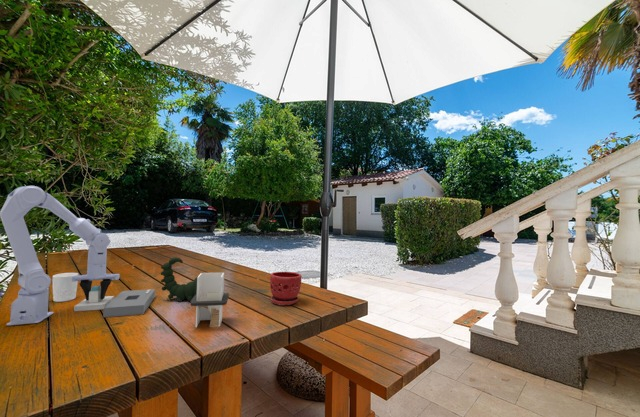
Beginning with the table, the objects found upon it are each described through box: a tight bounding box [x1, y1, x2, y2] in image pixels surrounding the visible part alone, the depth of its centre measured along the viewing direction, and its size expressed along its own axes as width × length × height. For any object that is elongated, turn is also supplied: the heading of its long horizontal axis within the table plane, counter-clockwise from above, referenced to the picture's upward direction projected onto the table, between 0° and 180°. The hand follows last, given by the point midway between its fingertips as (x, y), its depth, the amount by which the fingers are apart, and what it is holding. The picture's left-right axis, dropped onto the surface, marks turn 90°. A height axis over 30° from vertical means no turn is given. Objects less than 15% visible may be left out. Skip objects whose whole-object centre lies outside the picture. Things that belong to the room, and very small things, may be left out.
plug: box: [89, 284, 101, 303], centre depth 109 cm, size 4×3×7 cm, turn 21°
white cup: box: [52, 272, 79, 303], centre depth 115 cm, size 8×8×10 cm
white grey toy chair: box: [189, 272, 230, 328], centre depth 95 cm, size 25×24×16 cm
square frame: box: [73, 295, 115, 312], centre depth 109 cm, size 11×9×2 cm
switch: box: [102, 288, 156, 318], centre depth 110 cm, size 22×12×4 cm, turn 21°
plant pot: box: [269, 271, 302, 306], centre depth 120 cm, size 13×13×12 cm
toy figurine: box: [160, 256, 199, 302], centre depth 119 cm, size 9×19×25 cm
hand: (95, 299), depth 109 cm, fingers open, 4 cm apart
